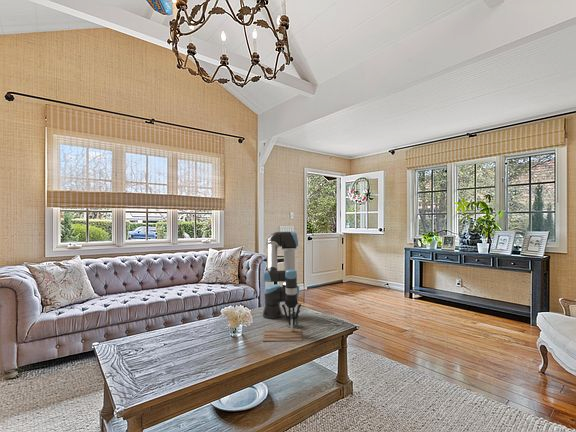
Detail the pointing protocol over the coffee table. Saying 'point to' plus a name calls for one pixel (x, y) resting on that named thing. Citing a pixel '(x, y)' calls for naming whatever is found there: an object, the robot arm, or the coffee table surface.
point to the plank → (282, 332)
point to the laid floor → (282, 338)
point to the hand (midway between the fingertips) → (291, 329)
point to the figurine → (296, 325)
